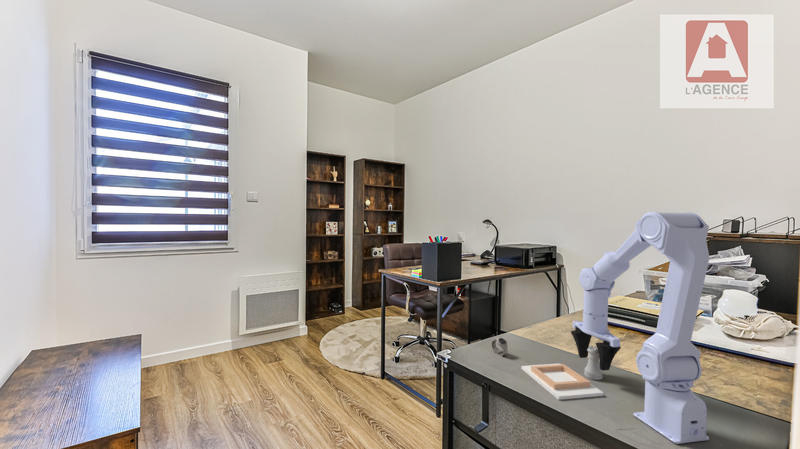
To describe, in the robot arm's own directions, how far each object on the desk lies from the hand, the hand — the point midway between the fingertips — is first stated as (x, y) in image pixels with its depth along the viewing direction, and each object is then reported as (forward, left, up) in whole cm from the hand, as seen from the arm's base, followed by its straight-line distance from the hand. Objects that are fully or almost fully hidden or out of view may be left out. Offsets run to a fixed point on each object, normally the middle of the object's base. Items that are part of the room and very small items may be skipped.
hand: (593, 363), depth 89 cm
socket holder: (-1, +11, -4) cm, 12 cm away
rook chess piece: (0, 0, -4) cm, 4 cm away
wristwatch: (+18, +18, -4) cm, 26 cm away
